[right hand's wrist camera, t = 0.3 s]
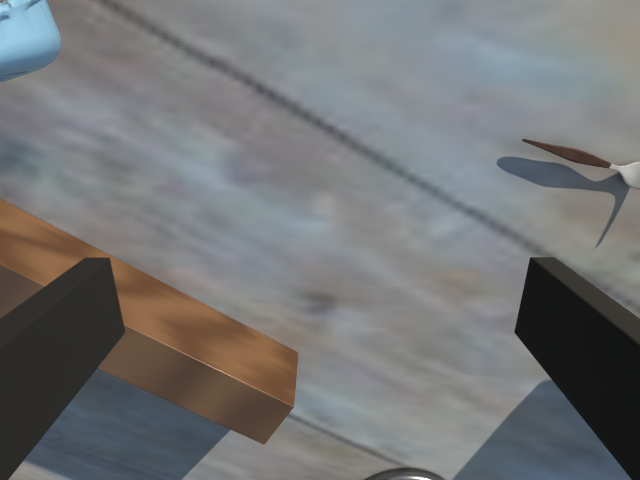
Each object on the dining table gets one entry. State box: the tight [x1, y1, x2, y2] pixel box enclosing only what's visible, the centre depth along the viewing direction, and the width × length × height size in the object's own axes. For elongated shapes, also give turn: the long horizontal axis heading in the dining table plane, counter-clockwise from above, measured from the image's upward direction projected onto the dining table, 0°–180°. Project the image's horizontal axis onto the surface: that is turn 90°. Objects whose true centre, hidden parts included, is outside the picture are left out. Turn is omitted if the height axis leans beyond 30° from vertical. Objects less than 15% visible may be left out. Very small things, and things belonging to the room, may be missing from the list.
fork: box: [522, 139, 640, 190], centre depth 37 cm, size 3×16×2 cm, turn 74°
